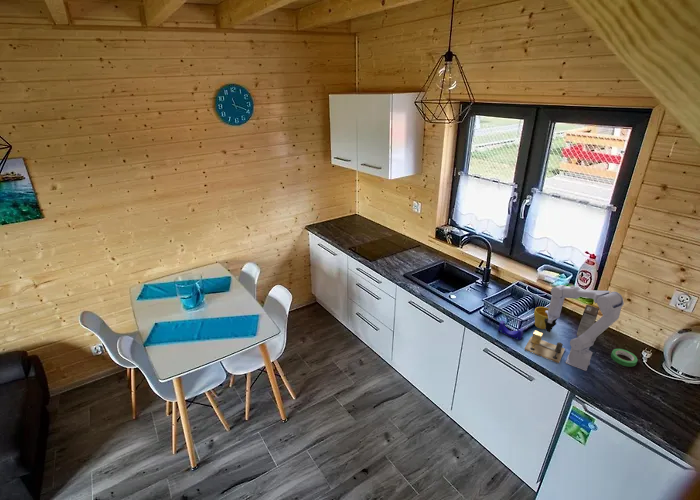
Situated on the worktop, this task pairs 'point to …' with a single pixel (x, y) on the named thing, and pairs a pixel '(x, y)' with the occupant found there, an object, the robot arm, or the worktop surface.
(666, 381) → the worktop surface
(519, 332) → the cable clip
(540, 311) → the plant pot
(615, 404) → the worktop surface
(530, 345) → the tan base plate
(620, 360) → the tape roll
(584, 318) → the coffee box
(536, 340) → the block
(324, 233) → the worktop surface
